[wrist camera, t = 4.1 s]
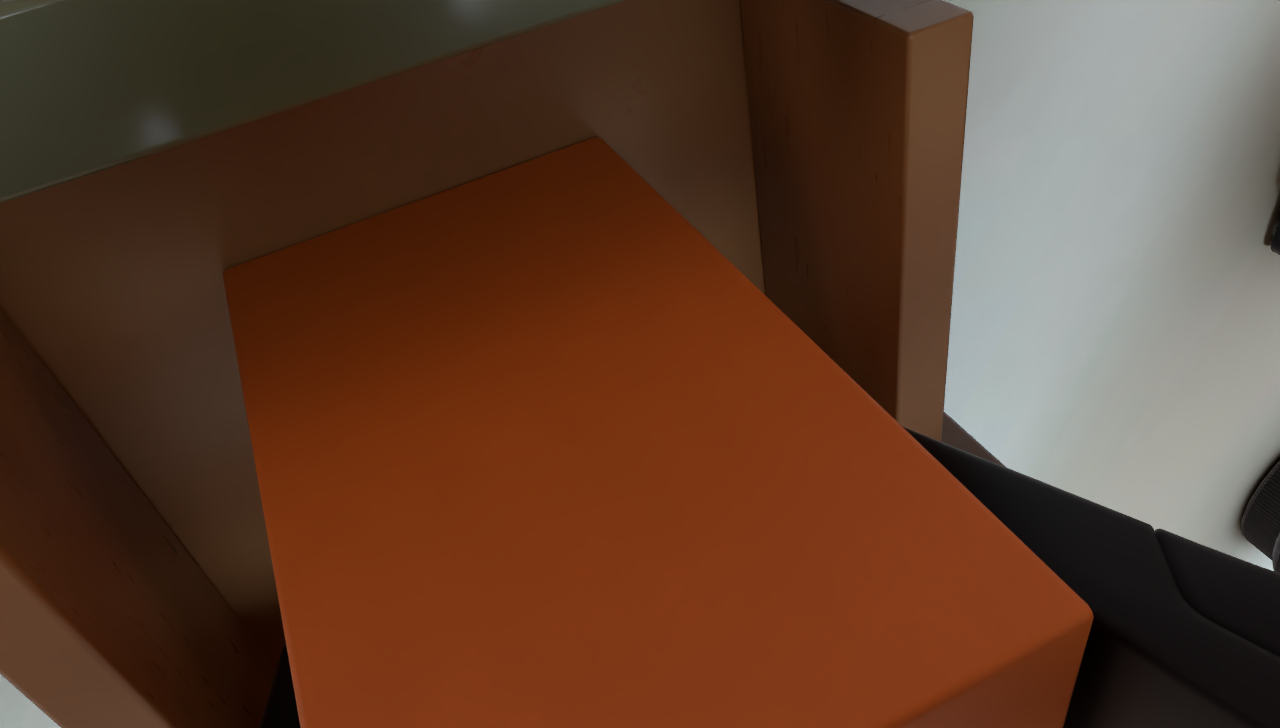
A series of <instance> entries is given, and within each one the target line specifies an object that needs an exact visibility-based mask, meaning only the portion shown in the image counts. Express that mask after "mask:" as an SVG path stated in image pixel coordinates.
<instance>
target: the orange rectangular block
mask: <svg viewBox="0 0 1280 728" xmlns="http://www.w3.org/2000/svg"><path fill="white" fill-rule="evenodd" d="M223 281H224V286H225V292H226V298H227V304H228V310H229V315H230V321H231V327H232V333H233V339H234V344H235V350H236V356H237V362H238V368H239V373H240V379H241V385H242V391H243V397H244V402H245V408H246V414H247V420H248V426H249V431H250V437H251V443H252V449H253V455H254V460H255V466H256V472H257V478H258V484H259V489H260V495H261V501H262V507H263V513H264V518H265V524H266V530H267V536H268V542H269V547H270V553H271V559H272V565H273V571H274V576H275V582H276V588H277V594H278V600H279V605H280V611H281V617H282V623H283V629H284V634H285V640H286V646H287V652H288V658H289V664H290V669H291V675H292V681H293V687H294V693H295V698H296V704H297V710H298V716H299V722H300V727H301V728H1063V726H1064V722H1065V719H1066V715H1067V711H1068V708H1069V704H1070V701H1071V697H1072V693H1073V690H1074V686H1075V683H1076V679H1077V675H1078V672H1079V668H1080V665H1081V661H1082V657H1083V654H1084V650H1085V647H1086V643H1087V639H1088V636H1089V632H1090V629H1091V625H1092V621H1093V618H1094V616H1093V613H1092V611H1091V609H1090V607H1089V605H1088V604H1087V603H1086V602H1085V601H1084V600H1083V599H1081V598H1080V597H1079V596H1078V595H1077V594H1076V593H1075V592H1074V591H1073V590H1072V589H1071V588H1070V587H1069V586H1068V585H1067V584H1066V583H1065V582H1064V581H1063V580H1062V579H1061V578H1060V577H1059V576H1057V575H1056V574H1055V573H1054V572H1053V571H1052V570H1051V569H1050V568H1049V567H1048V566H1047V565H1046V564H1045V563H1044V562H1043V561H1042V560H1041V559H1040V558H1039V557H1038V556H1037V555H1036V554H1035V553H1033V552H1032V551H1031V550H1030V549H1029V548H1028V547H1027V546H1026V545H1025V544H1024V543H1023V542H1022V541H1021V540H1020V539H1019V538H1018V537H1017V536H1016V535H1015V534H1014V533H1013V532H1012V531H1011V530H1010V529H1008V528H1007V527H1006V526H1005V525H1004V524H1003V523H1002V522H1001V521H1000V520H999V519H998V518H997V517H996V516H995V515H994V514H993V513H992V512H991V511H990V510H989V509H988V508H987V507H986V506H984V505H983V504H982V503H981V502H980V501H979V500H978V499H977V498H976V497H975V496H974V495H973V494H972V493H971V492H970V491H969V490H968V489H967V488H966V487H965V486H964V485H963V484H962V483H960V482H959V481H958V480H957V479H956V478H955V477H954V476H953V475H952V474H951V473H950V472H949V471H948V470H947V469H946V468H945V467H944V466H943V465H942V464H941V463H940V462H939V461H938V460H936V459H935V458H934V457H933V456H932V455H931V454H930V453H929V452H928V451H927V450H926V449H925V448H924V447H923V446H922V445H921V444H920V443H919V442H918V441H917V440H916V439H915V438H914V437H912V436H911V435H910V434H909V433H908V432H907V431H906V430H905V429H904V428H903V427H902V426H901V425H900V424H899V423H898V422H897V421H896V420H895V419H894V418H893V417H892V416H891V415H890V414H888V413H887V412H886V411H885V410H884V409H883V408H882V407H881V406H880V405H879V404H878V403H877V402H876V401H875V400H874V399H873V398H872V397H871V396H870V395H869V394H868V393H867V392H866V391H864V390H863V389H862V388H861V387H860V386H859V385H858V384H857V383H856V382H855V381H854V380H853V379H852V378H851V377H850V376H849V375H848V374H847V373H846V372H845V371H844V370H843V369H842V368H840V367H839V366H838V365H837V364H836V363H835V362H834V361H833V360H832V359H831V358H830V357H829V356H828V355H827V354H826V353H825V352H824V351H823V350H822V349H821V348H820V347H819V346H818V345H816V344H815V343H814V342H813V341H812V340H811V339H810V338H809V337H808V336H807V335H806V334H805V333H804V332H803V331H802V330H801V329H800V328H799V327H798V326H797V325H796V324H795V323H794V322H793V321H791V320H790V319H789V318H788V317H787V316H786V315H785V314H784V313H783V312H782V311H781V310H780V309H779V308H778V307H777V306H776V305H775V304H774V303H773V302H772V301H771V300H770V299H769V298H767V297H766V296H765V295H764V294H763V293H762V292H761V291H760V290H759V289H758V288H757V287H756V286H755V285H754V284H753V283H752V282H751V281H750V280H749V279H748V278H747V277H746V276H745V275H743V274H742V273H741V272H740V271H739V270H738V269H737V268H736V267H735V266H734V265H733V264H732V263H731V262H730V261H729V260H728V259H727V258H726V257H725V256H724V255H723V254H722V253H721V252H719V251H718V250H717V249H716V248H715V247H714V246H713V245H712V244H711V243H710V242H709V241H708V240H707V239H706V238H705V237H704V236H703V235H702V234H701V233H700V232H699V231H698V230H697V229H695V228H694V227H693V226H692V225H691V224H690V223H689V222H688V221H687V220H686V219H685V218H684V217H683V216H682V215H681V214H680V213H679V212H678V211H677V210H676V209H675V208H674V207H673V206H671V205H670V204H669V203H668V202H667V201H666V200H665V199H664V198H663V197H662V196H661V195H660V194H659V193H658V192H657V191H656V190H655V189H654V188H653V187H652V186H651V185H650V184H649V183H647V182H646V181H645V180H644V179H643V178H642V177H641V176H640V175H639V174H638V173H637V172H636V171H635V170H634V169H633V168H632V167H631V166H630V165H629V164H628V163H627V162H626V161H625V160H623V159H622V158H621V157H620V156H619V155H618V154H617V153H616V152H615V151H614V150H613V149H612V148H611V147H610V146H609V145H608V144H607V143H606V142H605V141H604V140H603V139H602V138H601V137H594V138H591V139H589V140H586V141H583V142H580V143H577V144H575V145H572V146H569V147H566V148H563V149H561V150H558V151H555V152H552V153H549V154H547V155H544V156H541V157H538V158H535V159H533V160H530V161H527V162H524V163H522V164H519V165H516V166H513V167H510V168H508V169H505V170H502V171H499V172H496V173H494V174H491V175H488V176H485V177H482V178H480V179H477V180H474V181H471V182H469V183H466V184H463V185H460V186H457V187H455V188H452V189H449V190H446V191H443V192H441V193H438V194H435V195H432V196H429V197H427V198H424V199H421V200H418V201H416V202H413V203H410V204H407V205H404V206H402V207H399V208H396V209H393V210H390V211H388V212H385V213H382V214H379V215H376V216H374V217H371V218H368V219H365V220H362V221H360V222H357V223H354V224H351V225H349V226H346V227H343V228H340V229H337V230H335V231H332V232H329V233H326V234H323V235H321V236H318V237H315V238H312V239H309V240H307V241H304V242H301V243H298V244H296V245H293V246H290V247H287V248H284V249H282V250H279V251H276V252H273V253H270V254H268V255H265V256H262V257H259V258H256V259H254V260H251V261H248V262H245V263H243V264H240V265H237V266H234V267H231V268H229V269H227V270H225V271H224V272H223Z"/></svg>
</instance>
